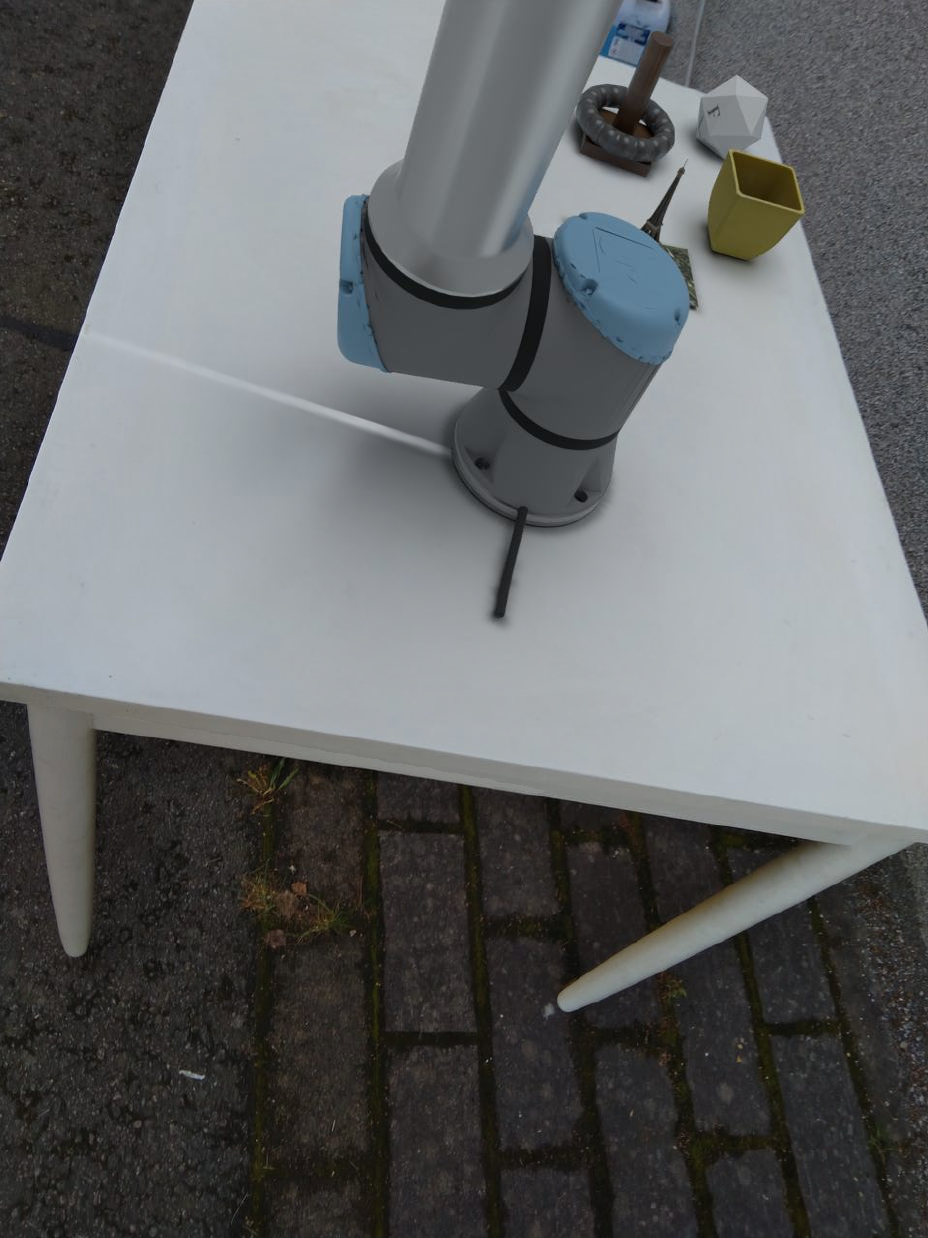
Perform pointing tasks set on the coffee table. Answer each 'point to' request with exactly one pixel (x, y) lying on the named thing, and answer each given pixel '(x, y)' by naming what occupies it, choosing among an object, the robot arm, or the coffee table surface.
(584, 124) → the grey ribbed ring
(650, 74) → the wooden peg stand
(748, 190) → the flower pot
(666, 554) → the coffee table surface
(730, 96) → the die
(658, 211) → the eiffel tower figurine
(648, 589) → the coffee table surface
